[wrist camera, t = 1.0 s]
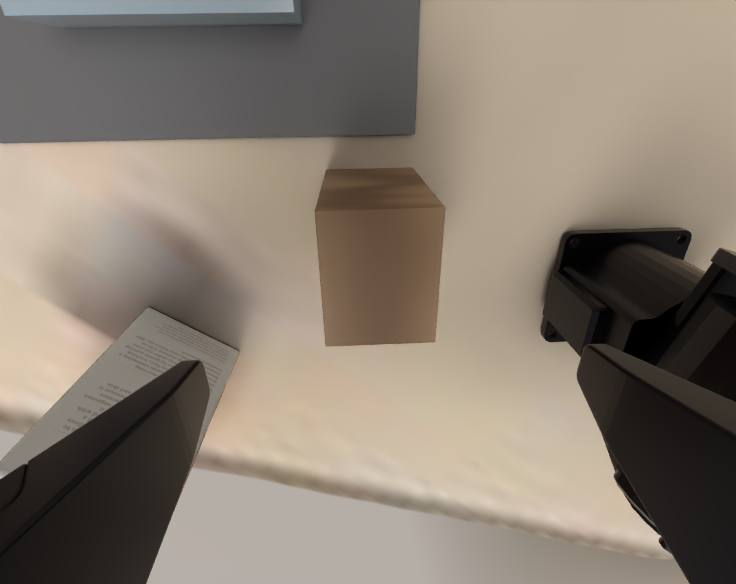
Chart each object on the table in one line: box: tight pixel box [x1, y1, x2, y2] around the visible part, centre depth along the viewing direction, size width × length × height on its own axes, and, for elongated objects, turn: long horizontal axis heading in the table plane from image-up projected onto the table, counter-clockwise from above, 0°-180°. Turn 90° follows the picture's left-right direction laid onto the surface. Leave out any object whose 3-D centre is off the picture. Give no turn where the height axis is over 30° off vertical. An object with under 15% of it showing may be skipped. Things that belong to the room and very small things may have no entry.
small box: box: [0, 308, 239, 510], centre depth 18 cm, size 8×6×10 cm
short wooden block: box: [315, 168, 445, 346], centre depth 16 cm, size 4×5×7 cm
